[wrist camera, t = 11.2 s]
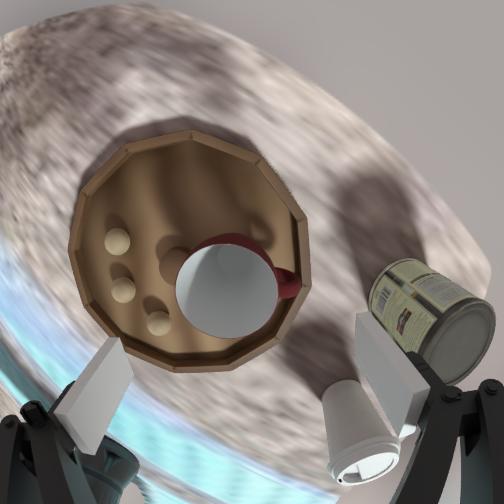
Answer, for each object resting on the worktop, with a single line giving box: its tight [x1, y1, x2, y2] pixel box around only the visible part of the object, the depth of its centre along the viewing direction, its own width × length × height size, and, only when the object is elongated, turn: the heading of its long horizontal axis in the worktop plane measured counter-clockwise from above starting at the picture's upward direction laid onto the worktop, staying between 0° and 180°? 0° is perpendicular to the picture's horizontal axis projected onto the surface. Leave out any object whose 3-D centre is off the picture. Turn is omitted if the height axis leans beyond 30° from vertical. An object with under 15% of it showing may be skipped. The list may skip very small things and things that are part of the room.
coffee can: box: [368, 258, 496, 386], centre depth 27 cm, size 10×10×14 cm
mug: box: [175, 233, 301, 339], centre depth 26 cm, size 10×8×10 cm
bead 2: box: [111, 277, 136, 303], centre depth 30 cm, size 3×3×3 cm
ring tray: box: [68, 129, 312, 373], centre depth 31 cm, size 28×28×3 cm
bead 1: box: [104, 228, 130, 255], centre depth 29 cm, size 3×3×3 cm
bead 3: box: [147, 311, 172, 336], centre depth 31 cm, size 3×3×3 cm
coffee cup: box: [322, 379, 401, 486], centre depth 31 cm, size 10×10×15 cm
